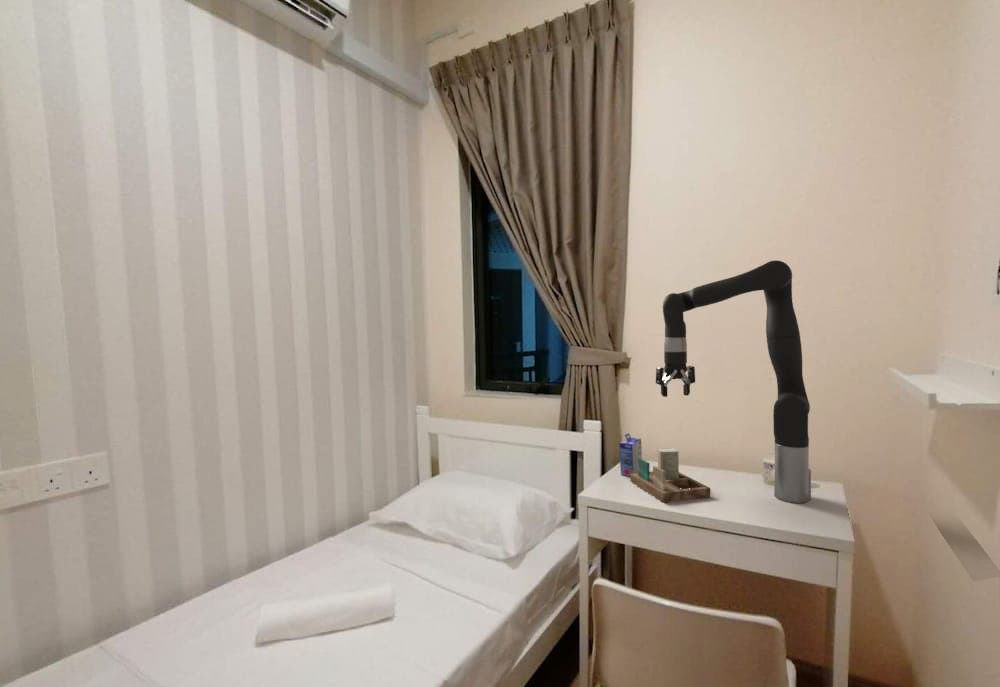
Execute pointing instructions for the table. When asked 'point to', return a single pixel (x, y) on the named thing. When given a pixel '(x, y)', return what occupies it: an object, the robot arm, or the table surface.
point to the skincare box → (669, 462)
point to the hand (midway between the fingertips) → (675, 395)
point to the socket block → (667, 484)
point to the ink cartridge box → (630, 455)
